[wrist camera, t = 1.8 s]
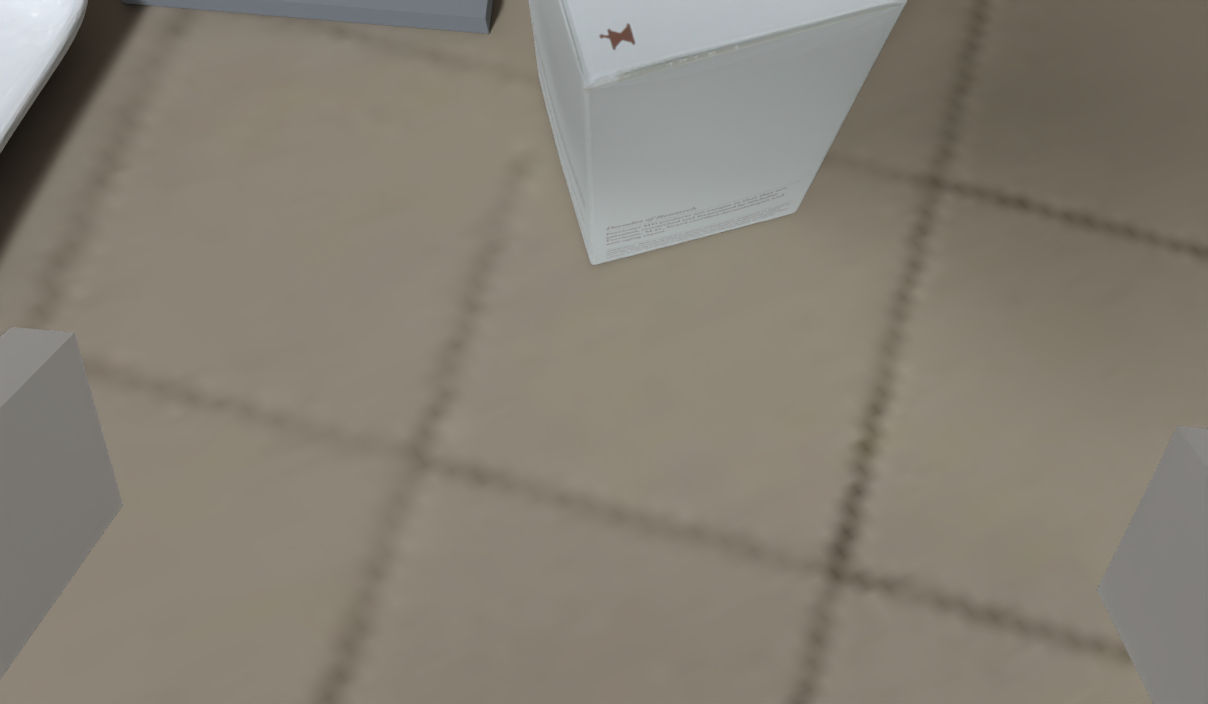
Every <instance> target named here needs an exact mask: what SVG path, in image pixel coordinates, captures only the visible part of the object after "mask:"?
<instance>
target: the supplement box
mask: <svg viewBox="0 0 1208 704" xmlns="http://www.w3.org/2000/svg"><path fill="white" fill-rule="evenodd" d="M907 1H908V0H529V7H530V13H531V20H532V27H533V33H534V41H535V50H536V58H537V65H538V73H539V80H540V84H541V88H542V92H543V96H544V100H545V104H546V108H547V112H548V116H549V120H550V124H551V128H552V132H553V135H554V139H555V143H556V147H557V151H558V154H559V158H560V162H561V165H562V168H563V172H564V175H565V179H566V182H567V185H568V189H569V192H570V196H571V199H572V202H573V206H574V209H575V212H576V216H577V219H578V222H579V226H580V229H581V232H582V236H583V239H584V242H585V246H586V249H587V252H588V256H589V260H590V262H591V264H593V265H596V264H600V263H604V262H608V261H612V260H616V259H620V258H624V257H628V256H632V255H635V254H640V253H643V252H647V251H651V250H654V249H658V248H663V247H667V246H671V245H675V244H678V243H682V242H685V241H689V240H693V239H697V238H702V237H705V236H709V235H713V234H717V233H720V232H724V231H728V230H732V229H736V228H740V227H743V226H747V225H750V224H754V223H757V222H763V221H767V220H770V219H773V218H777V217H781V216H785V215H789V214H792V213H794V212H796V211H797V209H798V207H799V206H800V204H801V202H802V200H803V198H804V196H805V194H806V192H807V190H808V189H809V187H810V185H811V183H812V181H813V179H814V177H815V175H816V173H817V171H818V169H819V167H820V166H821V164H822V162H823V160H824V158H825V156H826V154H827V152H828V150H829V148H830V146H831V145H832V143H833V141H834V139H835V137H836V135H837V133H838V131H839V129H840V127H841V125H842V123H843V122H844V120H845V118H846V116H847V114H848V112H849V110H850V108H851V107H852V105H853V103H854V101H855V99H856V97H857V95H858V93H859V91H860V89H861V87H862V85H863V83H864V82H865V80H866V78H867V76H868V74H869V72H870V70H871V68H872V66H873V64H874V62H875V61H876V59H877V57H878V55H879V53H880V51H881V49H882V47H883V45H884V43H885V42H886V40H887V38H888V36H889V34H890V32H891V30H892V28H893V26H894V24H895V22H896V21H897V19H898V17H899V15H900V14H901V12H902V10H903V8H904V6H905V4H906V3H907Z"/></svg>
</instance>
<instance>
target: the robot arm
mask: <svg viewBox="0 0 1208 704" xmlns="http://www.w3.org/2000/svg"><path fill="white" fill-rule="evenodd" d="M122 506H123V504H122V500H121V496H120V493H119V489H118V486H117V482H116V479H115V475H114V472H113V468H112V464H111V461H110V457H109V454H108V450H107V447H106V443H105V439H104V436H103V432H102V429H101V425H100V422H99V418H98V415H97V411H96V407H95V404H94V400H93V397H92V393H91V390H90V386H89V382H88V379H87V375H86V372H85V368H84V365H83V361H82V358H81V354H80V350H79V347H78V343H77V340H76V336H75V333H73V332H61V331H50V330H38V329H26V328H14V327H11V328H10V329H9V330H8V331H6V332H5V333H4V334H3V335H2V336H1V337H0V679H1V678H2V676H3V675H4V673H5V672H6V671H7V669H8V668H9V666H10V665H11V664H12V662H13V661H14V659H15V658H16V656H17V655H18V654H19V652H20V651H21V649H22V648H23V646H24V645H25V644H26V642H27V641H28V639H29V638H30V637H31V635H32V634H33V632H34V631H35V629H36V628H37V627H38V625H39V624H40V622H41V621H42V620H43V618H44V617H45V615H46V614H47V612H48V611H49V610H50V608H51V607H52V605H53V604H54V602H55V601H56V600H57V598H58V597H59V595H60V594H61V593H62V591H63V590H64V588H65V587H66V585H67V584H68V583H69V581H70V580H71V578H72V577H73V576H74V574H75V573H76V571H77V570H78V568H79V567H80V566H81V564H82V563H83V561H84V560H85V558H86V557H87V556H88V554H89V553H90V551H91V550H92V549H93V547H94V546H95V544H96V543H97V541H98V540H99V539H100V537H101V536H102V534H103V533H104V531H105V530H106V529H107V527H108V526H109V524H110V523H111V522H112V520H113V519H114V517H115V516H116V514H117V513H118V512H119V510H120V509H121V507H122ZM1097 592H1098V594H1099V596H1100V598H1101V600H1102V602H1103V604H1104V606H1105V608H1106V610H1107V612H1108V614H1109V616H1110V618H1111V620H1112V622H1113V624H1114V626H1115V628H1116V630H1117V632H1118V634H1119V636H1120V638H1121V640H1122V642H1123V644H1124V646H1125V648H1126V650H1127V652H1128V654H1129V656H1130V658H1131V660H1132V662H1133V664H1134V666H1135V668H1136V670H1137V672H1138V674H1139V676H1140V678H1141V680H1142V682H1143V684H1144V686H1145V688H1146V690H1147V692H1148V694H1149V696H1150V698H1151V700H1152V702H1153V704H1208V429H1205V428H1194V427H1182V426H1177V428H1176V430H1175V432H1174V434H1173V436H1172V438H1171V440H1170V442H1169V444H1168V446H1167V448H1166V450H1165V452H1164V454H1163V456H1162V458H1161V460H1160V462H1159V464H1158V466H1157V468H1156V470H1155V472H1154V474H1153V477H1152V479H1151V481H1150V483H1149V485H1148V487H1147V489H1146V491H1145V493H1144V495H1143V497H1142V499H1141V501H1140V503H1139V505H1138V507H1137V509H1136V511H1135V513H1134V515H1133V517H1132V519H1131V521H1130V523H1129V525H1128V527H1127V529H1126V531H1125V534H1124V536H1123V538H1122V540H1121V542H1120V544H1119V546H1118V548H1117V550H1116V552H1115V554H1114V556H1113V558H1112V560H1111V562H1110V564H1109V566H1108V568H1107V570H1106V572H1105V574H1104V576H1103V578H1102V580H1101V582H1100V584H1099V586H1098V588H1097Z"/></svg>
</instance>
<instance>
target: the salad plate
mask: <svg viewBox="0 0 1208 704" xmlns="http://www.w3.org/2000/svg"><path fill="white" fill-rule="evenodd" d="M87 4H88V0H0V153H1V152H2V150H3V148H4V147H5V145H6V144H7V142H8V141H9V139H10V137H11V136H12V134H13V133H14V131H15V130H16V128H17V127H18V125H19V124H20V122H21V121H22V119H23V118H24V116H25V115H26V113H27V112H28V110H29V109H30V107H31V106H32V104H33V103H34V101H35V100H36V98H37V97H38V95H39V94H40V92H41V91H42V89H43V88H44V86H45V85H46V83H47V82H48V80H49V78H50V77H51V75H52V74H53V72H54V71H55V69H56V68H57V66H58V65H59V63H60V62H61V60H62V59H63V57H64V56H65V54H66V52H67V51H68V49H69V47H70V46H71V44H72V42H73V40H74V38H75V36H76V34H77V32H78V30H79V28H80V26H81V24H82V22H83V19H84V16H85V12H86V8H87Z"/></svg>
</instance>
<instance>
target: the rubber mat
mask: <svg viewBox="0 0 1208 704" xmlns="http://www.w3.org/2000/svg"><path fill="white" fill-rule="evenodd" d="M121 2H122V3H128V4H140V5H152V6H164V7H176V8H187V9H199V10H211V11H223V12H235V13H247V14H259V15H271V16H283V17H295V18H307V19H319V20H331V21H343V22H355V23H367V24H379V25H391V26H403V27H415V28H427V29H439V30H451V31H463V32H475V33H487V34H489V29H490V21H491V13H492V6H493V0H121Z"/></svg>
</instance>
